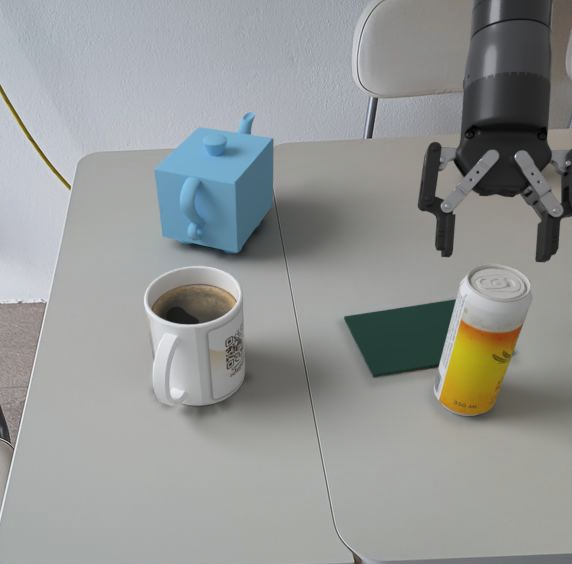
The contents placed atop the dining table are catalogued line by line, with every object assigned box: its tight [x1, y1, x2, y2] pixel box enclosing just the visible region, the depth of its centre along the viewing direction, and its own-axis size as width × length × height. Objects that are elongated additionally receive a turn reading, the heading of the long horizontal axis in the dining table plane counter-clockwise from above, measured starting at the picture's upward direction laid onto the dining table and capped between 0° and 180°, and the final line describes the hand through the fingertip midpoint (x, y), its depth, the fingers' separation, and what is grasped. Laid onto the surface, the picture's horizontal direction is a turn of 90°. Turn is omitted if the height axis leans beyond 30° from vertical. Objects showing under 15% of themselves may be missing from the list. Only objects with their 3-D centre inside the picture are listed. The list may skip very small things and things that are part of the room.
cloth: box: [343, 298, 456, 378], centre depth 74 cm, size 16×10×1 cm, turn 100°
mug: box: [143, 265, 246, 407], centre depth 67 cm, size 10×12×11 cm
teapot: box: [154, 111, 275, 254], centre depth 88 cm, size 22×11×14 cm, turn 156°
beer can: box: [433, 263, 533, 417], centre depth 62 cm, size 6×6×15 cm
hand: (494, 258), depth 60 cm, fingers open, 8 cm apart
